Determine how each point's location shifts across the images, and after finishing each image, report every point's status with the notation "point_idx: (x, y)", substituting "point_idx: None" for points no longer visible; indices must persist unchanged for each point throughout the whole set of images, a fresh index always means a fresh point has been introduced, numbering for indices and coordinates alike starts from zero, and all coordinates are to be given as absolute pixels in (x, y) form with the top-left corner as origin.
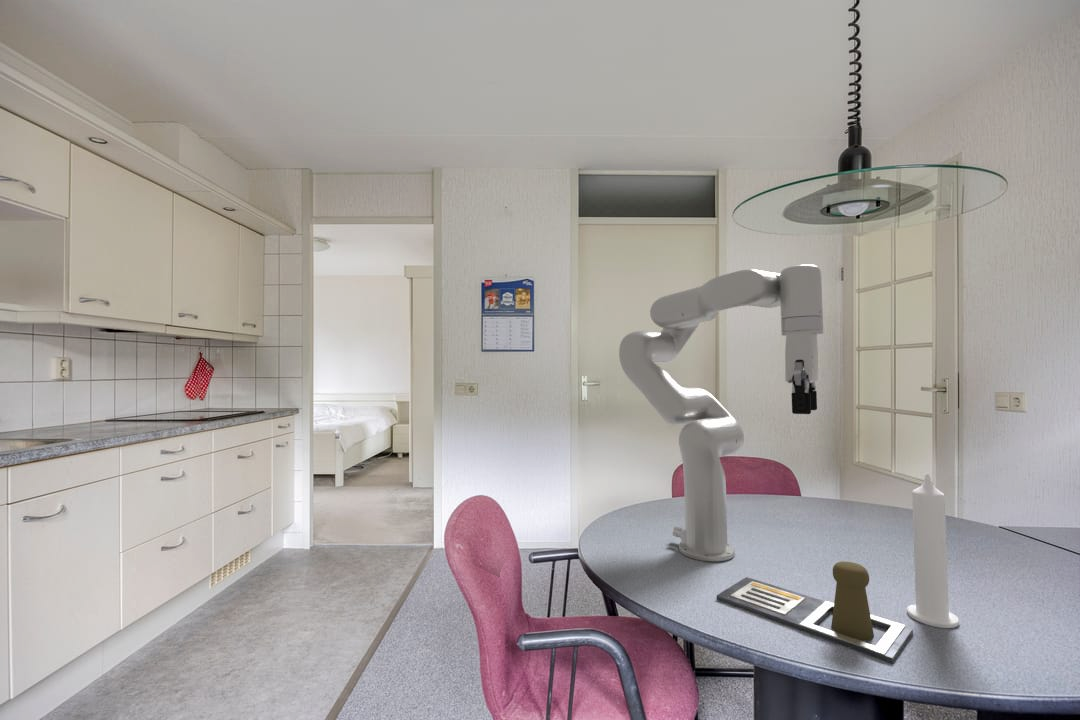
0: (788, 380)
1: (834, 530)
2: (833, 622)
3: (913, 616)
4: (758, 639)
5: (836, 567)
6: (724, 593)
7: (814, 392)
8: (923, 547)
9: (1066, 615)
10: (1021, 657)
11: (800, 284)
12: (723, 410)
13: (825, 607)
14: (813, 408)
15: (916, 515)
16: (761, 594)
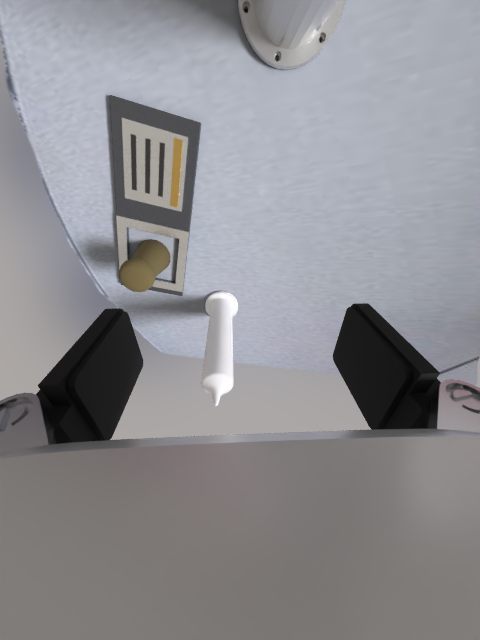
0: (157, 465)
1: (460, 213)
2: (142, 243)
3: (210, 295)
4: (65, 179)
5: (123, 266)
6: (124, 105)
7: (371, 426)
8: (207, 338)
9: (275, 365)
10: (193, 341)
11: None
12: None
13: (171, 233)
14: (336, 354)
15: (208, 356)
16: (155, 160)
